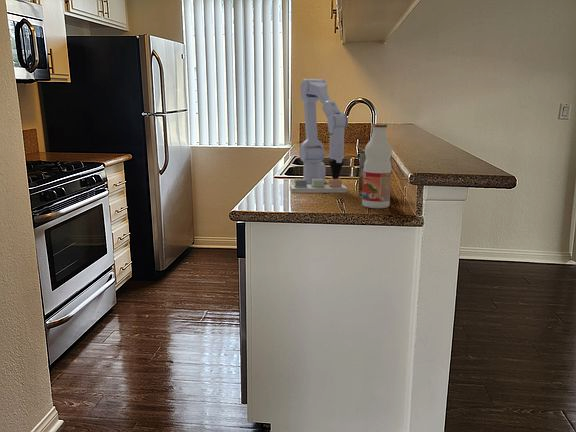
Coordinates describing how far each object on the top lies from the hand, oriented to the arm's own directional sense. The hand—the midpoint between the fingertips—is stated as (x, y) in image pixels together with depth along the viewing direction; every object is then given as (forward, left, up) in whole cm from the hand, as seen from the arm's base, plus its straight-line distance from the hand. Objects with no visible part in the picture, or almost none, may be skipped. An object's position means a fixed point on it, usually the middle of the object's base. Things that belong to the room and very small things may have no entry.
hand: (335, 178), depth 207 cm
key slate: (+12, -8, -3) cm, 14 cm away
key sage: (+6, -4, -3) cm, 8 cm away
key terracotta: (0, 0, -3) cm, 3 cm away
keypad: (+6, -4, -5) cm, 8 cm away
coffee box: (-5, +15, -5) cm, 17 cm away
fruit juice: (+10, +31, -5) cm, 33 cm away
